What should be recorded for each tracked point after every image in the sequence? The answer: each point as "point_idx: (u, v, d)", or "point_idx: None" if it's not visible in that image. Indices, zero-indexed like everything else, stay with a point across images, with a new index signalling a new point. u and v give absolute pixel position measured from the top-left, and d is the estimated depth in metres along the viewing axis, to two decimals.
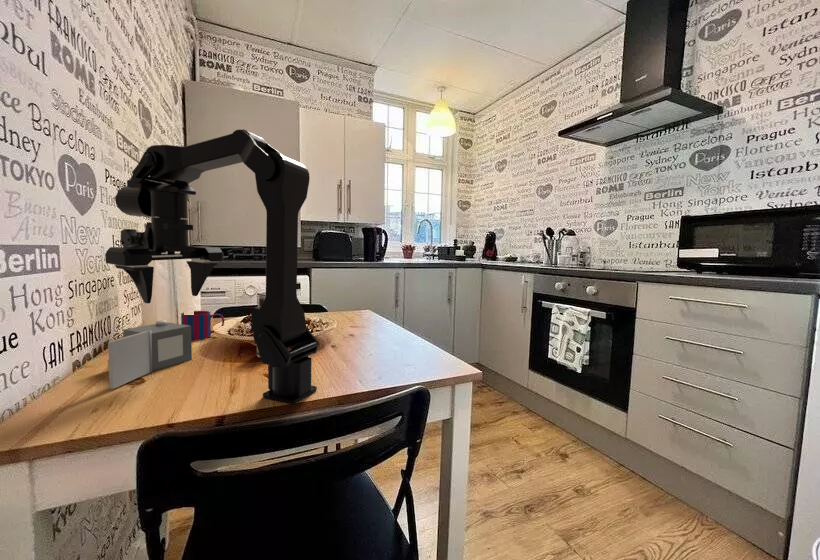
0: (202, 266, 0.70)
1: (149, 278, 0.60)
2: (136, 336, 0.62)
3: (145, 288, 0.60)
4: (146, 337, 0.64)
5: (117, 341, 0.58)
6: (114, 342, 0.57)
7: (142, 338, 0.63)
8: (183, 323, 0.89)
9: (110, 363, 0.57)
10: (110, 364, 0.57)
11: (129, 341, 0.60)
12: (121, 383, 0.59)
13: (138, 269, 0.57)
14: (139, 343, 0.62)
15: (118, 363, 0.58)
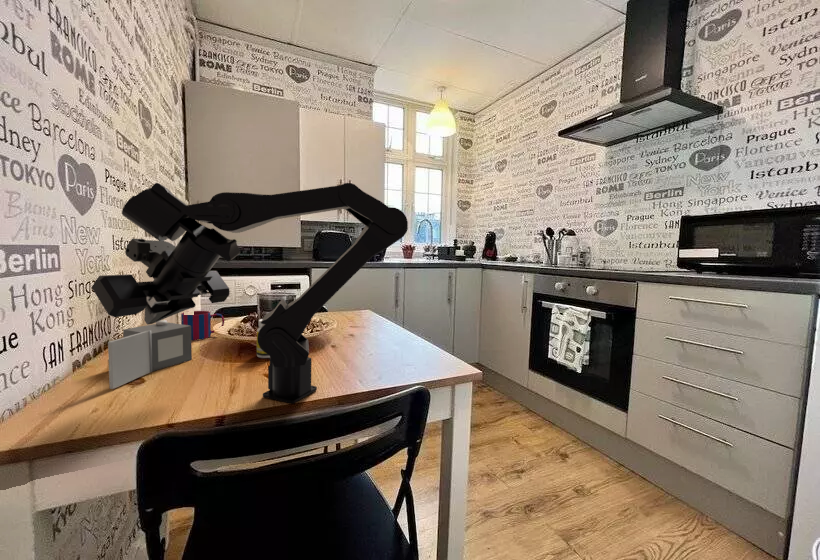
0: (174, 306, 0.57)
1: (161, 315, 0.55)
2: (136, 336, 0.62)
3: (152, 319, 0.56)
4: (146, 337, 0.64)
5: (117, 341, 0.58)
6: (114, 342, 0.57)
7: (142, 338, 0.63)
8: (183, 323, 0.89)
9: (110, 363, 0.57)
10: (110, 364, 0.57)
11: (129, 341, 0.60)
12: (121, 383, 0.59)
13: (154, 313, 0.53)
14: (139, 343, 0.62)
15: (118, 363, 0.58)
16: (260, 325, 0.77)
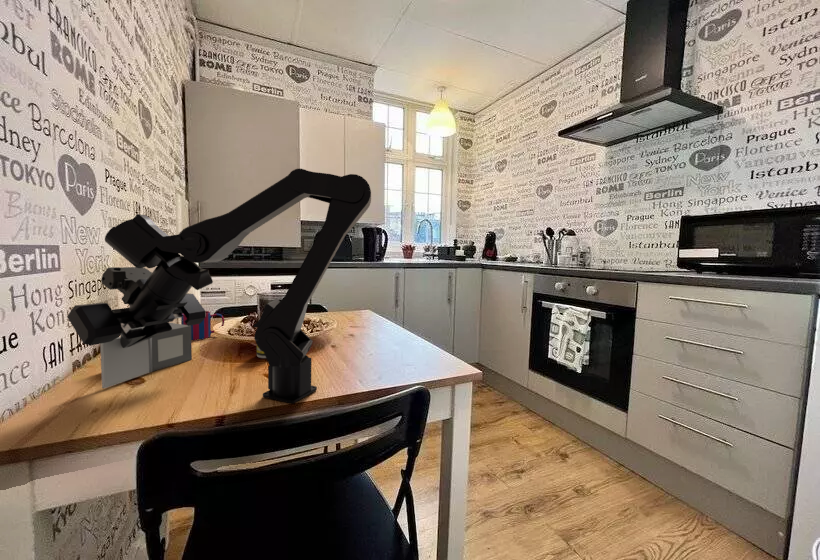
0: (150, 330, 0.59)
1: (136, 340, 0.57)
2: None
3: (127, 343, 0.58)
4: None
5: None
6: (106, 342, 0.57)
7: None
8: (183, 323, 0.89)
9: (102, 362, 0.57)
10: (102, 363, 0.57)
11: None
12: (114, 383, 0.59)
13: (129, 339, 0.55)
14: None
15: (111, 362, 0.58)
16: None
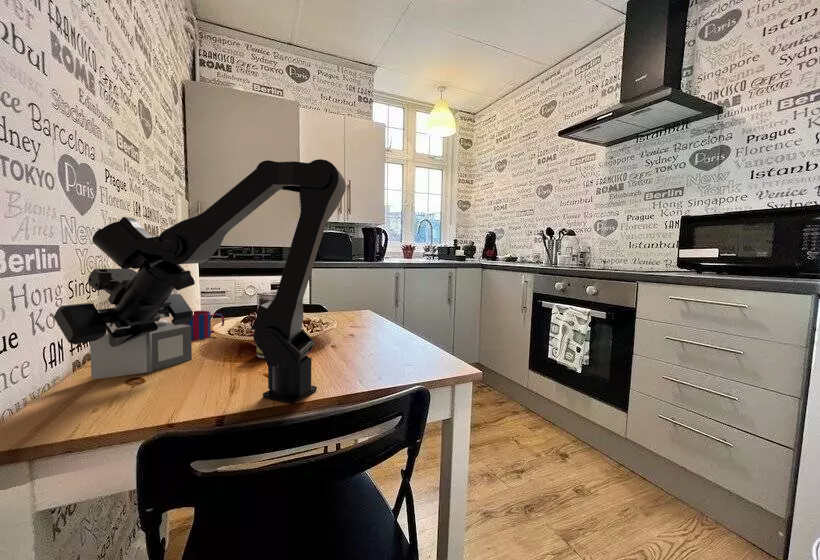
0: (136, 329, 0.60)
1: (123, 339, 0.59)
2: None
3: (115, 342, 0.60)
4: (142, 336, 0.64)
5: None
6: None
7: None
8: None
9: None
10: (91, 355, 0.61)
11: None
12: (103, 376, 0.62)
13: (115, 338, 0.56)
14: (131, 342, 0.64)
15: (99, 356, 0.61)
16: None
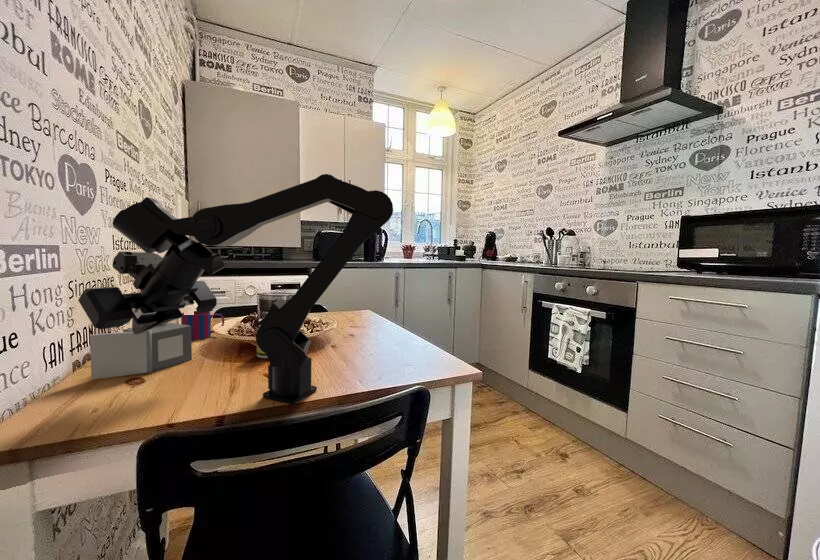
0: (161, 316, 0.58)
1: (147, 326, 0.56)
2: (127, 334, 0.63)
3: (139, 329, 0.57)
4: (142, 336, 0.64)
5: (98, 335, 0.61)
6: (93, 336, 0.61)
7: (136, 337, 0.64)
8: (183, 323, 0.89)
9: None
10: (91, 355, 0.61)
11: (116, 337, 0.62)
12: (103, 376, 0.62)
13: (141, 324, 0.54)
14: (131, 342, 0.64)
15: (99, 356, 0.61)
16: (260, 325, 0.77)
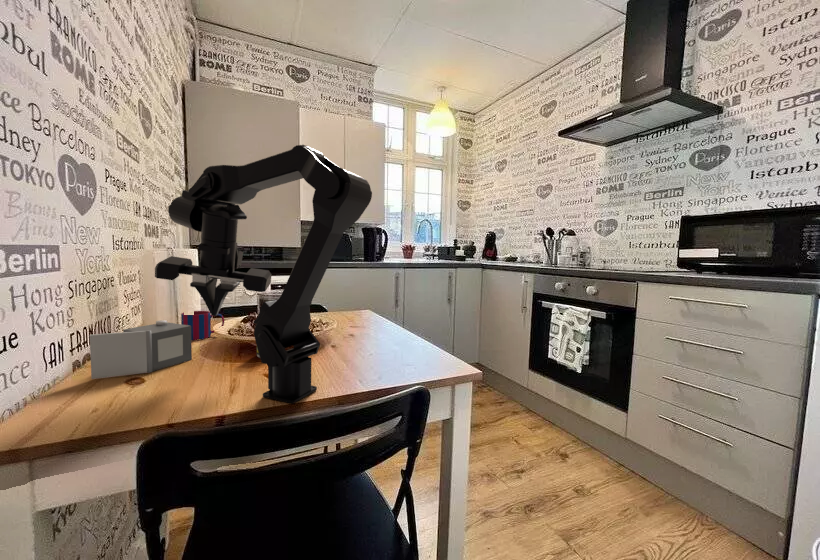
0: None
1: (205, 295, 0.64)
2: (127, 334, 0.63)
3: None
4: (142, 336, 0.64)
5: (98, 335, 0.61)
6: (93, 336, 0.61)
7: (136, 337, 0.64)
8: (183, 323, 0.89)
9: None
10: (91, 355, 0.61)
11: (116, 337, 0.62)
12: (103, 376, 0.62)
13: (191, 285, 0.62)
14: (131, 342, 0.64)
15: (99, 356, 0.61)
16: None
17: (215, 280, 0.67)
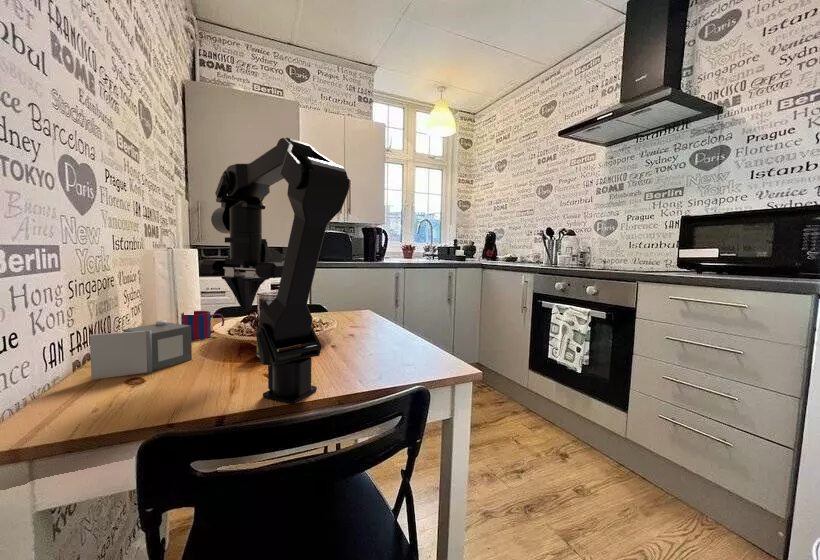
0: None
1: (232, 287, 0.66)
2: (127, 334, 0.63)
3: (235, 296, 0.67)
4: (142, 336, 0.64)
5: (98, 335, 0.61)
6: (93, 336, 0.61)
7: (136, 337, 0.64)
8: (183, 323, 0.89)
9: None
10: (91, 355, 0.61)
11: (116, 337, 0.62)
12: (103, 376, 0.62)
13: None
14: (131, 342, 0.64)
15: (99, 356, 0.61)
16: None
17: None
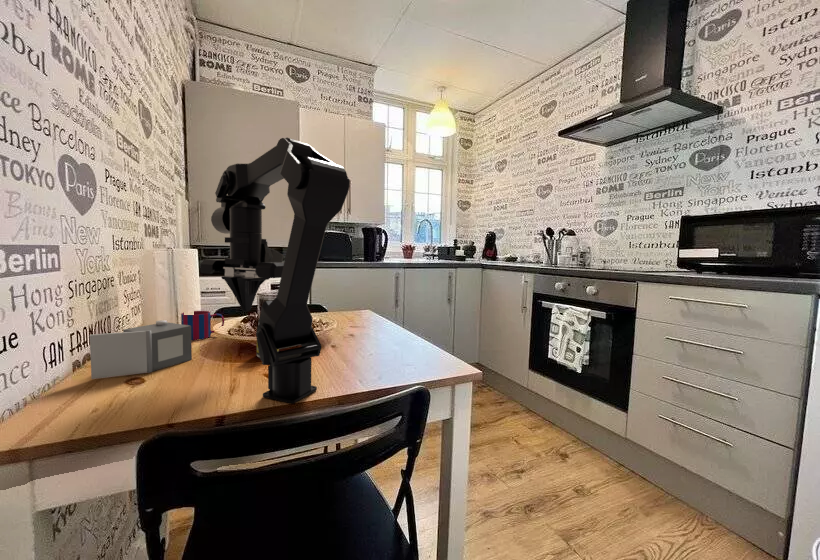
0: None
1: (232, 287, 0.66)
2: (127, 334, 0.63)
3: (235, 296, 0.67)
4: (142, 336, 0.64)
5: (98, 335, 0.61)
6: (93, 336, 0.61)
7: (136, 337, 0.64)
8: (183, 323, 0.89)
9: None
10: (91, 355, 0.61)
11: (116, 337, 0.62)
12: (103, 376, 0.62)
13: None
14: (131, 342, 0.64)
15: (99, 356, 0.61)
16: None
17: None
